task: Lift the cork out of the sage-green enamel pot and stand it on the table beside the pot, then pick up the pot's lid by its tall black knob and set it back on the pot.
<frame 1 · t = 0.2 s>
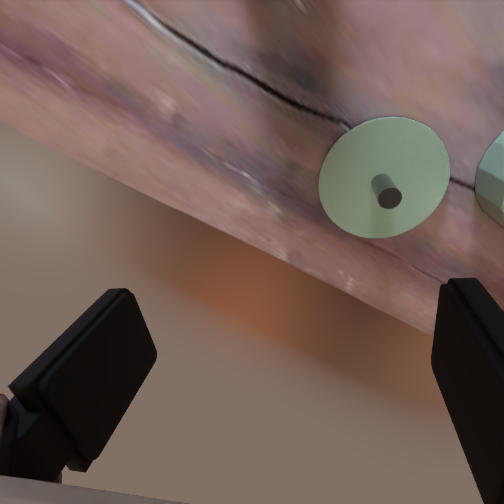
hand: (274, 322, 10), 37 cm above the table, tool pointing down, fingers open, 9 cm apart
lid: (380, 182, 42), point 1 cm above the table
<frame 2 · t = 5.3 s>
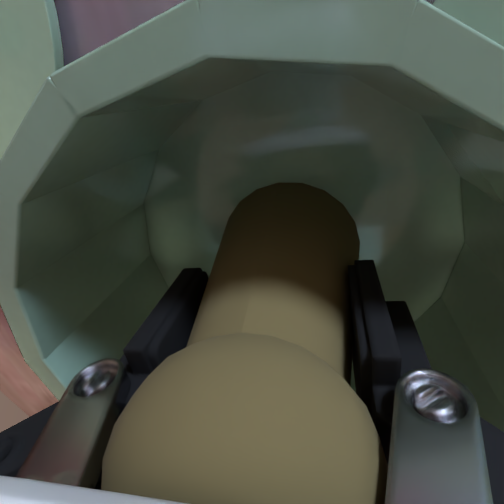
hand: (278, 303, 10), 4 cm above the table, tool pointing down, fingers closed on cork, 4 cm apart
pot: (289, 245, 14), on the table
cork: (289, 246, 14), resting on pot, touching gripper
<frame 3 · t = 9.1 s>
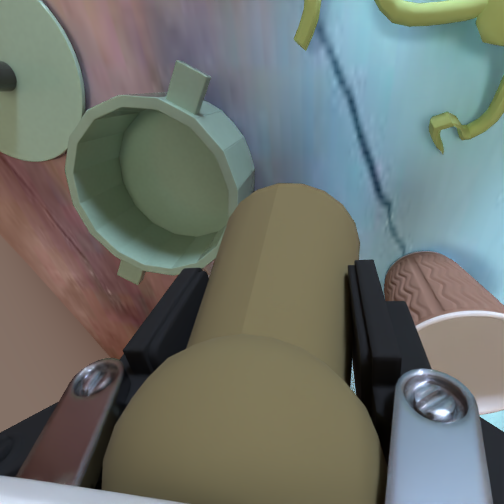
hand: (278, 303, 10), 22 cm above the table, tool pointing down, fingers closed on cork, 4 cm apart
pot: (182, 175, 32), on the table
coffee cup: (419, 278, 33), on the table
cork: (289, 246, 14), point 18 cm above the table, touching gripper
lid: (9, 76, 30), point 1 cm above the table
when the fingers open (4 cm above the table, at t = 13.3 s): cork stays where it is, on the table.
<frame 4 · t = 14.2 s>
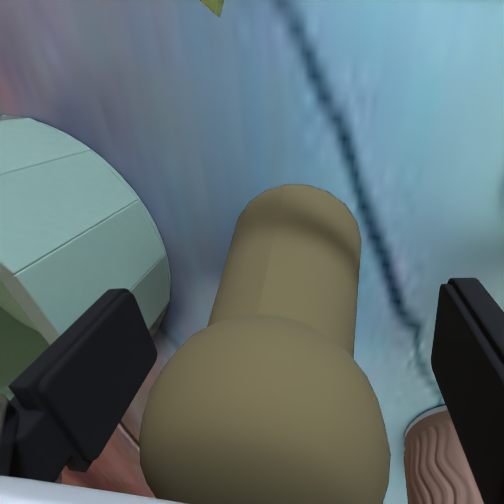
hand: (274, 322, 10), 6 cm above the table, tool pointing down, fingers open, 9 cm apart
pot: (50, 254, 18), on the table
coffee cup: (465, 437, 19), on the table
cork: (295, 244, 15), on the table
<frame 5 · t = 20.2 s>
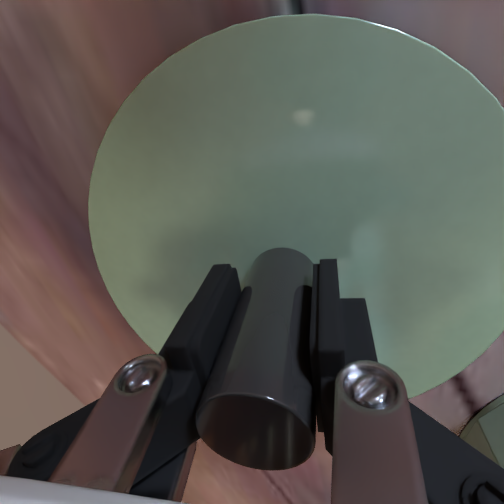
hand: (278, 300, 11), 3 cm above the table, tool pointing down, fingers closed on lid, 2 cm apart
lid: (284, 270, 12), point 1 cm above the table, touching gripper
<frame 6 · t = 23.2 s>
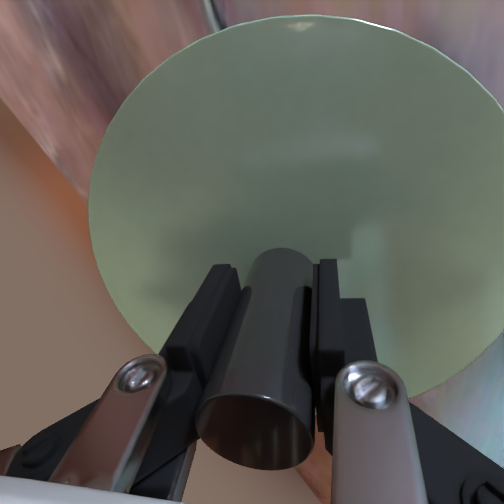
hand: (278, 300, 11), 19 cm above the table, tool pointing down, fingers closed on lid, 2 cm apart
lid: (284, 270, 12), point 17 cm above the table, touching gripper
when the fingers open (9 cm above the table, at t = 26.6 s): lid stays where it is, resting on pot.
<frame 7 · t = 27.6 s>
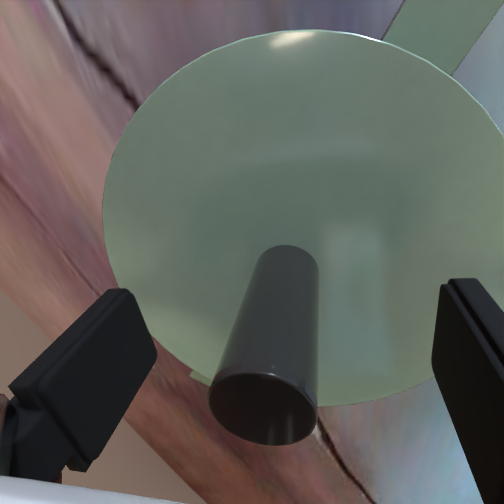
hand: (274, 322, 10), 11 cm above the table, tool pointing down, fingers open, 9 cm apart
pot: (298, 206, 19), on the table
lid: (287, 266, 13), point 7 cm above the table, touching pot
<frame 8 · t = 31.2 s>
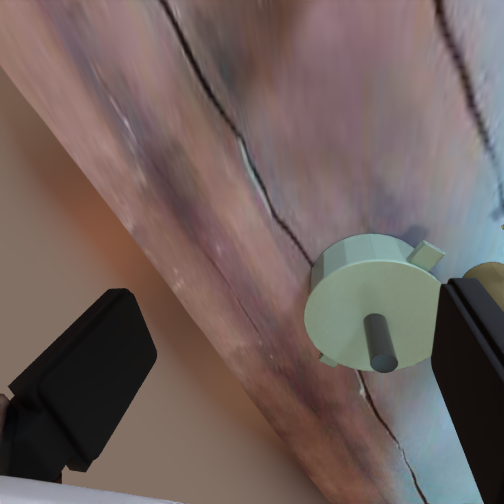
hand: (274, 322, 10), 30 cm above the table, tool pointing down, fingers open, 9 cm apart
pot: (366, 283, 43), on the table
cork: (486, 282, 39), on the table
lid: (374, 319, 36), point 7 cm above the table, touching pot
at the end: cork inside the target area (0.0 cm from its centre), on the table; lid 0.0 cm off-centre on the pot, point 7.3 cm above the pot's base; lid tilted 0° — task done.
